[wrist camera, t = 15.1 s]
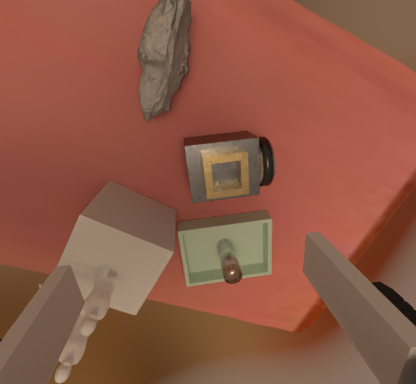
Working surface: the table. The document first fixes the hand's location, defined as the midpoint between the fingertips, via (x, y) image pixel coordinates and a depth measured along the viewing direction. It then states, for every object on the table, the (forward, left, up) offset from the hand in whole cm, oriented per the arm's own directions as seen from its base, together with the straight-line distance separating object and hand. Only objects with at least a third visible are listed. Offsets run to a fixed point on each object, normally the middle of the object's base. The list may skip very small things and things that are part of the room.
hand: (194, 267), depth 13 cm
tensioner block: (+7, -3, -35) cm, 35 cm away
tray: (+6, -23, -35) cm, 42 cm away
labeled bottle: (+6, -23, -34) cm, 41 cm away
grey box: (-15, -16, -35) cm, 41 cm away
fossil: (-1, +14, -35) cm, 37 cm away
